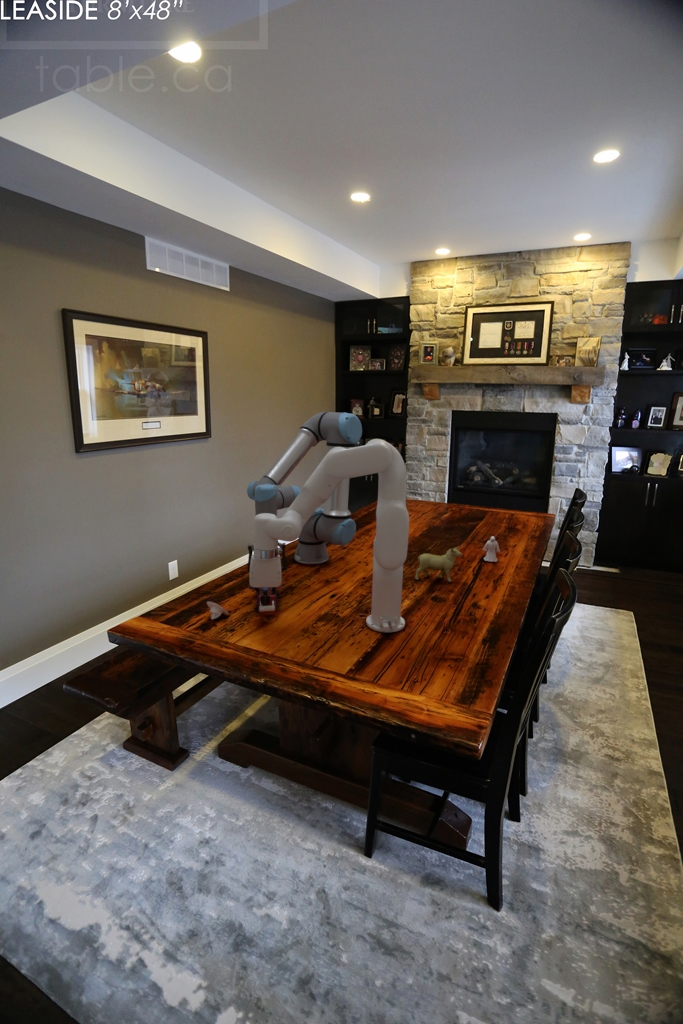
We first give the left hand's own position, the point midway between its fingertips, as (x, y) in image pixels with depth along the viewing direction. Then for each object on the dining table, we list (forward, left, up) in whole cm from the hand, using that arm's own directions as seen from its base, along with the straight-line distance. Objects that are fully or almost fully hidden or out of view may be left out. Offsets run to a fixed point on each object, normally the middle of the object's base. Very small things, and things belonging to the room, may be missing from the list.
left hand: (267, 588), depth 183 cm
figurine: (-67, +78, -2) cm, 103 cm away
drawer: (+11, +5, -1) cm, 13 cm away
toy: (-35, +58, -2) cm, 68 cm away
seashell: (+22, -8, -2) cm, 24 cm away
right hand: (+19, +8, +3) cm, 21 cm away
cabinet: (+5, +2, -2) cm, 6 cm away
